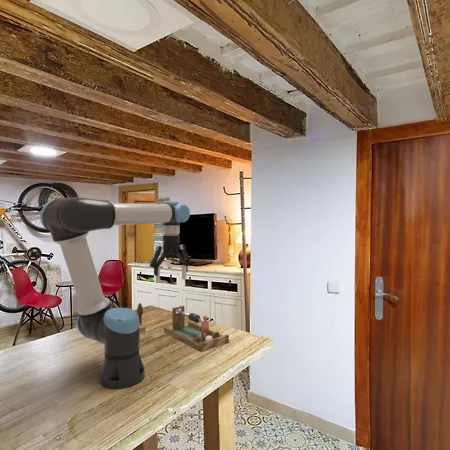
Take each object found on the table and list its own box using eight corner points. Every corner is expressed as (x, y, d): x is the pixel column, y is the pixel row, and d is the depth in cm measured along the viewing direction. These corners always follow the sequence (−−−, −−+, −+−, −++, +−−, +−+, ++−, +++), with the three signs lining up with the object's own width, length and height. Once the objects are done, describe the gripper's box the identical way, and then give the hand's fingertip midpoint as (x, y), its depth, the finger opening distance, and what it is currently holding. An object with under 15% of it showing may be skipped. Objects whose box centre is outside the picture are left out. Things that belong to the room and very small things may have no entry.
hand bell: (151, 334, 159) (151, 301, 159) (145, 341, 151) (145, 306, 151) (134, 334, 160) (134, 301, 160) (127, 340, 152) (127, 305, 152)
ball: (202, 339, 145) (206, 346, 143) (205, 334, 144) (209, 341, 142) (208, 337, 148) (212, 344, 146) (211, 333, 146) (215, 339, 144)
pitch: (201, 354, 136) (200, 325, 136) (164, 334, 159) (163, 309, 159) (228, 345, 146) (228, 318, 146) (190, 327, 169) (190, 304, 169)
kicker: (203, 342, 145) (203, 317, 145) (171, 326, 166) (170, 304, 165) (209, 340, 147) (209, 315, 147) (176, 325, 168) (176, 303, 167)
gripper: (149, 235, 142) (149, 285, 143) (198, 234, 158) (198, 279, 158) (142, 235, 148) (142, 282, 149) (190, 233, 163) (190, 277, 164)
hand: (171, 281), depth 153 cm, fingers open, 13 cm apart
